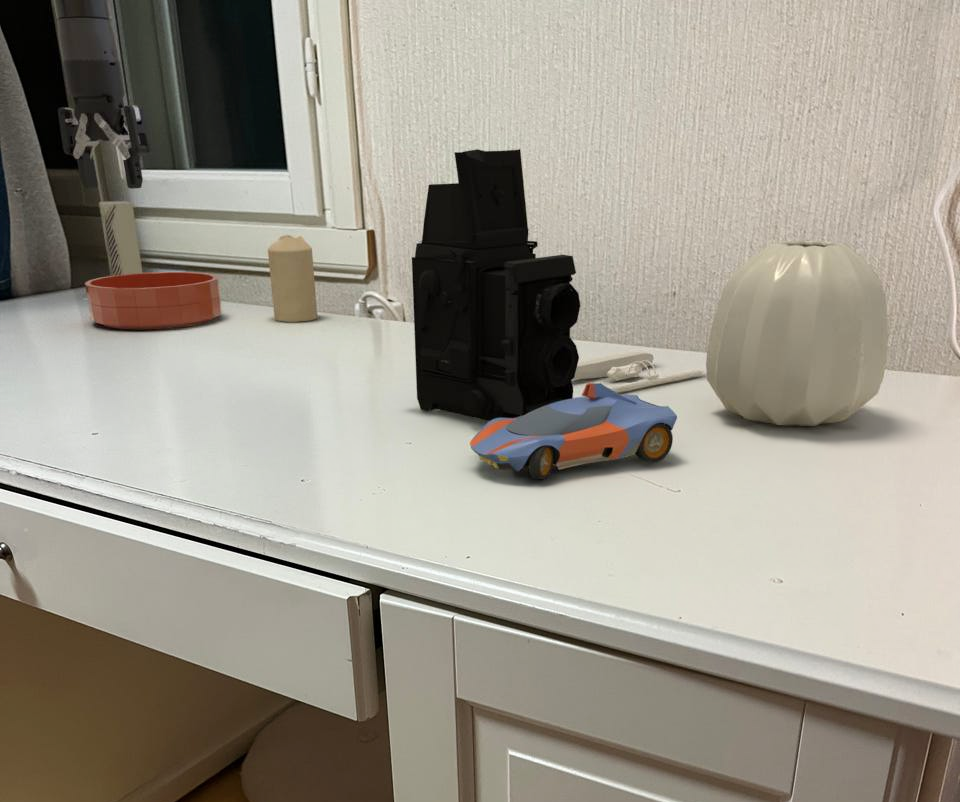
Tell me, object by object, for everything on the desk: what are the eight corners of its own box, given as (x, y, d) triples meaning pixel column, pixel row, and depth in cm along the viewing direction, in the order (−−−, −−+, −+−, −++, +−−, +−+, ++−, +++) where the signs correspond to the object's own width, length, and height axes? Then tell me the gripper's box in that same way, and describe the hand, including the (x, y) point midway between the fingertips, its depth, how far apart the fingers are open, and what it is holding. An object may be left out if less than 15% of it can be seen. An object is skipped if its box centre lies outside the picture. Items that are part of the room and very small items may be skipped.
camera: (521, 441, 76) (524, 150, 67) (403, 411, 84) (391, 149, 75) (600, 416, 82) (613, 148, 73) (483, 391, 91) (482, 147, 82)
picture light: (600, 398, 88) (601, 374, 87) (567, 389, 91) (568, 366, 90) (705, 376, 96) (707, 353, 95) (671, 368, 99) (673, 347, 98)
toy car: (451, 459, 72) (449, 385, 69) (622, 433, 78) (626, 364, 75) (503, 491, 65) (503, 410, 63) (685, 459, 71) (692, 385, 69)
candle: (271, 316, 130) (263, 235, 125) (312, 314, 131) (305, 233, 127) (278, 323, 125) (270, 238, 120) (321, 320, 127) (315, 236, 122)
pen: (548, 384, 93) (548, 366, 92) (645, 363, 101) (646, 346, 100) (560, 387, 92) (560, 369, 91) (657, 365, 100) (658, 349, 99)
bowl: (64, 326, 125) (56, 284, 122) (154, 307, 138) (148, 269, 135) (163, 335, 118) (157, 291, 116) (247, 314, 131) (243, 275, 129)
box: (112, 292, 151) (97, 201, 145) (142, 291, 153) (128, 200, 147) (116, 297, 147) (101, 203, 141) (147, 295, 149) (132, 202, 143)
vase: (867, 400, 86) (895, 236, 80) (879, 443, 74) (913, 254, 68) (707, 392, 90) (722, 234, 84) (694, 432, 78) (711, 251, 72)
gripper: (32, 59, 136) (57, 189, 143) (109, 54, 130) (131, 189, 137) (73, 62, 141) (95, 186, 149) (149, 57, 136) (168, 187, 143)
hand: (112, 187), depth 143 cm, fingers open, 8 cm apart
